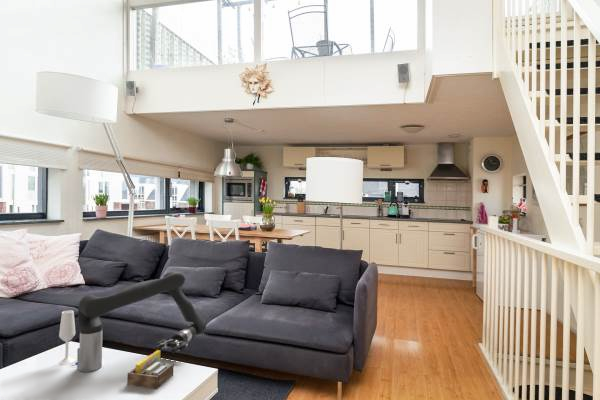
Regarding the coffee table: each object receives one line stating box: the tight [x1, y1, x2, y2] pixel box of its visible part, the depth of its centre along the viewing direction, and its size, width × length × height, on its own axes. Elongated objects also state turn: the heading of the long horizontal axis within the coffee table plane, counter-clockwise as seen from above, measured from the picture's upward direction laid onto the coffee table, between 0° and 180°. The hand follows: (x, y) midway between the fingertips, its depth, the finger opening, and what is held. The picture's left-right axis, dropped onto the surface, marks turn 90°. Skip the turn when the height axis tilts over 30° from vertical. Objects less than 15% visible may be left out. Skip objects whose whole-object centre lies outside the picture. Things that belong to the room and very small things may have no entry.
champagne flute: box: [58, 309, 76, 365], centre depth 176 cm, size 7×7×24 cm
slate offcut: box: [153, 365, 168, 376], centre depth 158 cm, size 2×7×6 cm, turn 168°
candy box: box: [135, 350, 162, 374], centre depth 164 cm, size 16×2×8 cm, turn 168°
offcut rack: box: [126, 362, 174, 390], centre depth 159 cm, size 14×12×5 cm
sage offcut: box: [146, 361, 161, 375], centre depth 160 cm, size 2×8×6 cm, turn 168°
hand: (164, 350), depth 176 cm, fingers open, 8 cm apart
